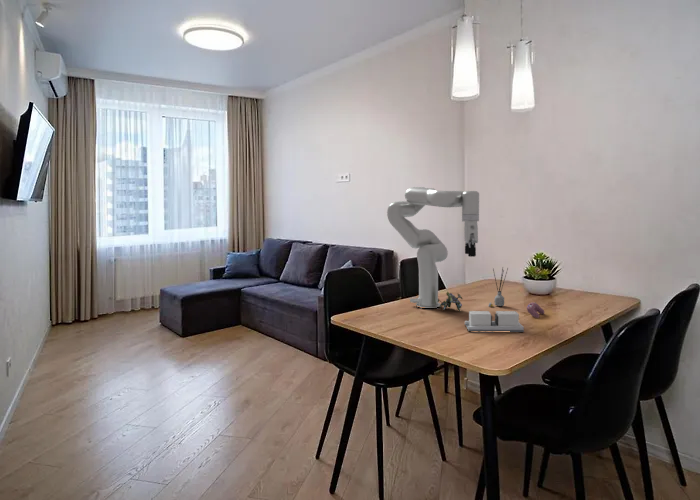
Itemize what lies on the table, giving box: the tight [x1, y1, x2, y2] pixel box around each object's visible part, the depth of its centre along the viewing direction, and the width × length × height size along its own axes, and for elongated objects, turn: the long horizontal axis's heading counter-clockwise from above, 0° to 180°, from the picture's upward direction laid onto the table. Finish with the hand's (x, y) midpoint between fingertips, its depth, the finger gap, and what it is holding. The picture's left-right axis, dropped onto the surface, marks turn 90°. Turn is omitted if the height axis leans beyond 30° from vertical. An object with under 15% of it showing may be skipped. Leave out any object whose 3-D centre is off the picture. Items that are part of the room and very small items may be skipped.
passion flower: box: [438, 291, 464, 312], centre depth 218 cm, size 11×11×12 cm
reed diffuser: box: [487, 267, 509, 308], centre depth 223 cm, size 10×7×20 cm
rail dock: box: [464, 310, 525, 332], centre depth 186 cm, size 22×10×7 cm, turn 84°
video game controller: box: [526, 301, 545, 319], centre depth 207 cm, size 10×5×7 cm, turn 141°
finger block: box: [468, 310, 493, 326], centre depth 187 cm, size 8×5×6 cm, turn 84°
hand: (470, 255), depth 207 cm, fingers open, 9 cm apart
